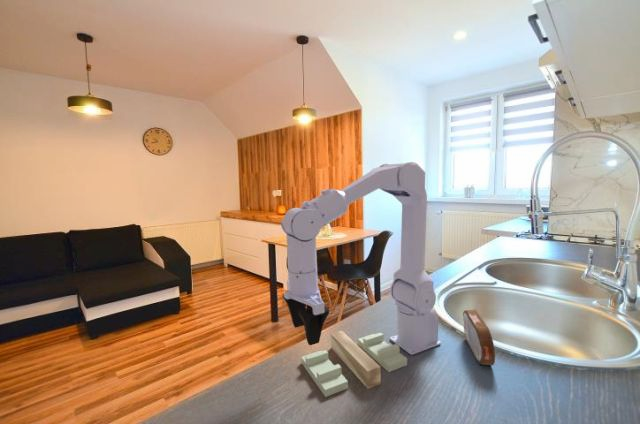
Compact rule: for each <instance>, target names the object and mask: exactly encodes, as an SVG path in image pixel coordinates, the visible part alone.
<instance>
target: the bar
mask: <svg viewBox="0 0 640 424" xmlns="http://www.w3.org/2000/svg"><path fill="white" fill-rule="evenodd" d="M330 348H331V350H332V351H333V352H334V353H335V354H336V355H337V356H338V358H340V359H341V360H342V362H344V364H345V365H346V366H347V367H348V369H350V371H351V372H352V373H353V374H354V375H355V376H356V377H357V379H359V381H360V382H361V383H362V384H363V385H364V386H365V387H366V388H367V389H368V390H369V389H372V388H374V387H376V386H380V385H381V384H382V383H381V382H382V381H381V379H382V378H381V373H382V371H381V370H382V369H381V365H380V364H379V363H378V362H377V361H376V360H375V359H373V358H372V357H371V356H370V355H369V354H368V353H367V352H366V351H364V350H363V349H362V348H361V347H360V346H359V345H358V343H356V342H355V341H354V340H352V339H351V338H350V336H348V335H347V334H346V333H345V332H344V331H343V330H341V329H340V330H337V331H335V332H331V333H330Z"/></svg>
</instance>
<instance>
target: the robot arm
mask: <svg viewBox="0 0 640 424" xmlns="http://www.w3.org/2000/svg"><path fill="white" fill-rule="evenodd" d="M376 190H381V191H383V192H385V193H387V194H389V195H392V196H393V197H394V198H395V199H396V200H397V201H398V202H400V204H401V231H400V232H401V237H400V268H399V269H398V270H396V271H395V272H394V273H393V280H392V283H391V284H390V289H389V290H390V296H391V298H392V299H393V300H394V301H395V304H394V305H396V324H397V325H396V327H397V328H396V329H397V333H396V335H393V336H390V337H389V340H390V341H391V342H393V343H394V344H397V345H398V346H399V348H401V349H403V350H404V351H405V352H406V353H408V354H410V355H411V356H412V355H413V356H414V355H415V354H419V353H422V352H424V351H426V350H430V349H432V348H434V347H437V346H439V345H441V344H442V342H441V341H440V340H439V316H438V312H437V310H436V309H435V304H436V301H437V299H436V298H437V297H436V296H437V295H436V292H435V290H434V280H433V279H432V278H431V276H430V275H429V274H428V273H427V272H426V270H425V262H426V261H425V259H426V237H427V236H426V233H427V231H426V230H427V208H428V207H427V203H428V196H427V190H426V171H425V170H424V169H423V168H422V167H421V166H420V165H419V164H418V163H417V162H413V161H408V162H402V163H401V162H400V163H384V164H381V165H379V166H376V167H374V168H372V169H371V170H370V171H369V172H367V173H366V174H365V173H364V175H362V176H361V177H359V178H358V179H356V180H355V181H353V182H352V183H350V184H348V185H347V186H345V187H344V188H342V189H340V190H339V189H335V188H331V189H329V188H325V189H322V190H321V194H320V195H318V196H316V197H314V198H313V199H311V200H309V201H307V200H305V201H303V202H301V205H302V206H301V208H300V207H293V208H291V209H288V211H286V212H285V215H284V216H283V218H282V222H280V226H281V229H282V231H283V232H284V233H285V235H286V255H287V271H288V272H287V273H288V280H286V285H287V290H288V291H285V292H284V293H283V294H282V297H283V300H284V301H285V303H286V305H287V308H288V310H289V314H290V318H291V321H292V324H293V327H294V328H299V327H300V328H301V327H303V326H304V331H305V332H304V333H305V337H306V341H307V345H308V346H312V345H317V344H319V343H320V340H321V335H322V331H323V327H324V324H325V321H326V319H327V318H328V315H329V314H330V309H329V308H328V307H327V306H326V305H325V302H324V301H323V299H322V296H321V292H320V288H319V280H318V279H319V278H318V262H317V261H318V260H317V259H318V256H317V240H316V239H317V238H316V237H317V236H318V235H319V233H320V232H321V229H322V228H324V227H325V226H328V224H330V223H331V222H333V221H335V220H337V219H339V218H340V217H341V216H344V215H345V214H346V213H347V212H348V209H349V205H351V204H352V203H354V202H357V201H358V200H360V199H362V198H363V197H366V196H367V195H369V194H371V193H374V192H375V191H376Z"/></svg>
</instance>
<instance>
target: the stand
mask: <svg viewBox="0 0 640 424" xmlns="http://www.w3.org/2000/svg"><path fill="white" fill-rule="evenodd" d="M357 345H358V346H359V347H360V348H361V349H362V350H363V351H364V352H365V353H366V354H367V355H368V356H370V357H371V358H372V359H373V360H374V361H375V362H376V363H377V364H378V365H379V366H380V367H382V368H384V369H385V370H386V371H387V372H388V373H391V372H394V371H395V370H399V369H401V368H403V367H406V366H408V358H407V357H406V356H405V355H403V354H402V353H400V351H401V349H400V346H398V345H397V344H396V343H394V344H392V345H390V344H389V343H387V342H386V340H384V334H383V333H382V332H378V333H371V334H368V335H366V336H362V337H360V338H357ZM300 358H301V361H300V362H301V364H302V366H303V367H304V368H305V370H306V372H307V373H308V375H309V376H310V377H311V379H312V380H313V381H314V383H315V385H316V386H317V387H318V389H319V391H321V393H322V394H323V396H324V398H328V397H329V396H332V395H334V394H337V393H340V392H342V391H345V390H348V389H349V381H348V380H347V379H346V377H345V375H344V374H342V366H341V364H339V363H336V364H334V363H333V362H332V361H331V360H330V359H329V352H328V350H326V349H324V350H318V351H315V352H311V353H309V354H306V355H303V356H301V357H300Z"/></svg>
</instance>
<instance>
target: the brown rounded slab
mask: <svg viewBox="0 0 640 424" xmlns="http://www.w3.org/2000/svg"><path fill="white" fill-rule="evenodd" d="M462 317H463V331H464V336H465V338H466V339H465V340H466V342H467V344H468V346H469V348H470V350H471V352H472V354H473V356H474V358H475V360H476V361H477V364H479V365H485V366H487V365H489V366H494V365H495V362H496V351H495V344H494V340H493V336H492V333H491V330H490V329H489V326H488V325H487V323H486V321H484V319H483V318H482V316H481V314H480V313H479V312H478V310H477V309H465V310H463V313H462Z"/></svg>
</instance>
